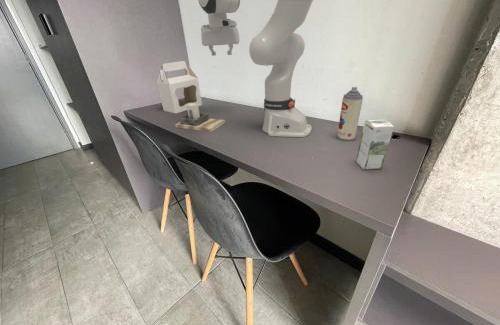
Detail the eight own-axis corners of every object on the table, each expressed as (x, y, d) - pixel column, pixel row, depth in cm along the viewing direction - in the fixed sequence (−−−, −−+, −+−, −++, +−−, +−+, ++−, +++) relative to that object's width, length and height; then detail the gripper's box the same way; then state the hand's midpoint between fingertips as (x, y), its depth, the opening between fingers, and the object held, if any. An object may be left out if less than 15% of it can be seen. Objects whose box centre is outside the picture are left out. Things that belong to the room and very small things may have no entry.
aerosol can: (335, 134, 93) (342, 85, 84) (351, 134, 93) (361, 85, 83) (339, 141, 87) (347, 89, 78) (357, 140, 87) (367, 88, 77)
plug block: (200, 120, 115) (197, 103, 111) (195, 123, 112) (192, 106, 107) (194, 120, 117) (191, 103, 112) (189, 122, 113) (185, 105, 109)
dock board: (225, 122, 115) (224, 114, 113) (211, 131, 105) (210, 122, 103) (191, 119, 123) (189, 111, 121) (175, 127, 113) (173, 118, 111)
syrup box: (372, 160, 73) (382, 118, 66) (382, 169, 68) (394, 125, 61) (355, 161, 73) (364, 119, 66) (363, 170, 68) (374, 126, 61)
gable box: (190, 102, 157) (182, 60, 144) (202, 105, 150) (195, 60, 136) (163, 111, 143) (151, 64, 129) (175, 113, 135) (163, 64, 121)
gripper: (196, 25, 108) (201, 56, 114) (233, 21, 100) (236, 55, 107) (204, 25, 112) (208, 55, 119) (239, 21, 105) (241, 54, 111)
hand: (221, 55), depth 113 cm, fingers open, 8 cm apart
